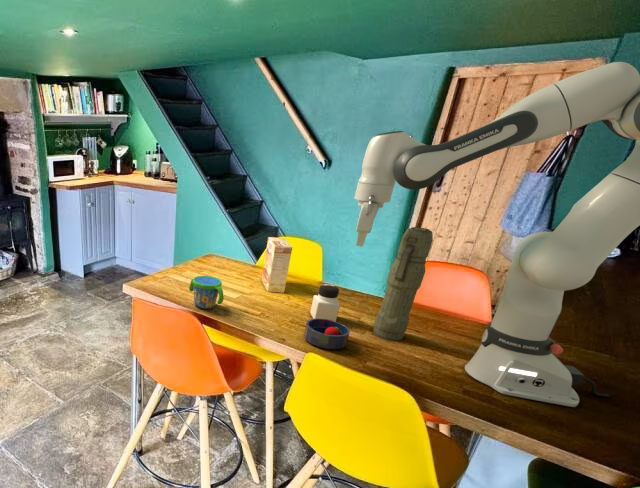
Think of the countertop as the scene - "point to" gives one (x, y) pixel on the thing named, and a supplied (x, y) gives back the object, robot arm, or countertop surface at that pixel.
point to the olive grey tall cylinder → (403, 284)
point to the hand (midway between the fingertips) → (360, 242)
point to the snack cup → (206, 291)
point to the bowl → (318, 337)
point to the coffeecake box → (276, 264)
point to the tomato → (333, 331)
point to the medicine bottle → (325, 303)
